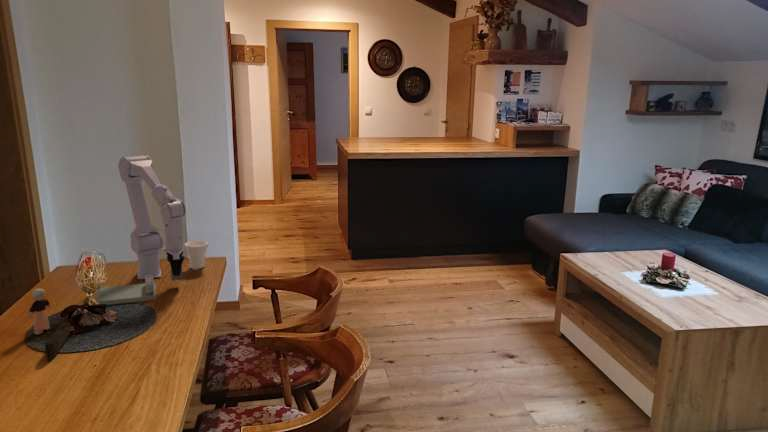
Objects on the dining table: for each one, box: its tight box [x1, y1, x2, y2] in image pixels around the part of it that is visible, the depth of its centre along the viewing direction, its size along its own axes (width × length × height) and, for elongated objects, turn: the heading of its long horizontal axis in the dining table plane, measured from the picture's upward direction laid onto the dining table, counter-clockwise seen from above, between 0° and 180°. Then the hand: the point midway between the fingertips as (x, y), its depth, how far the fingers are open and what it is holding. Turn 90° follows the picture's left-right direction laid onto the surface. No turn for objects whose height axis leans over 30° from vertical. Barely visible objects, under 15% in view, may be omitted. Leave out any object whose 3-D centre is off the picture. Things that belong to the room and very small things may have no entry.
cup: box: [183, 240, 209, 270], centre depth 213 cm, size 9×9×10 cm
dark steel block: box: [169, 264, 183, 281], centre depth 193 cm, size 4×4×6 cm
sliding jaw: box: [144, 275, 155, 294], centre depth 187 cm, size 10×2×3 cm, turn 22°
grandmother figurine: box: [27, 287, 52, 335], centre depth 157 cm, size 8×4×13 cm, turn 179°
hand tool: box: [44, 319, 71, 362], centre depth 149 cm, size 19×4×5 cm, turn 13°
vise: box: [86, 281, 157, 306], centre depth 184 cm, size 13×20×5 cm, turn 112°
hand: (176, 273), depth 193 cm, fingers closed on dark steel block, 4 cm apart
